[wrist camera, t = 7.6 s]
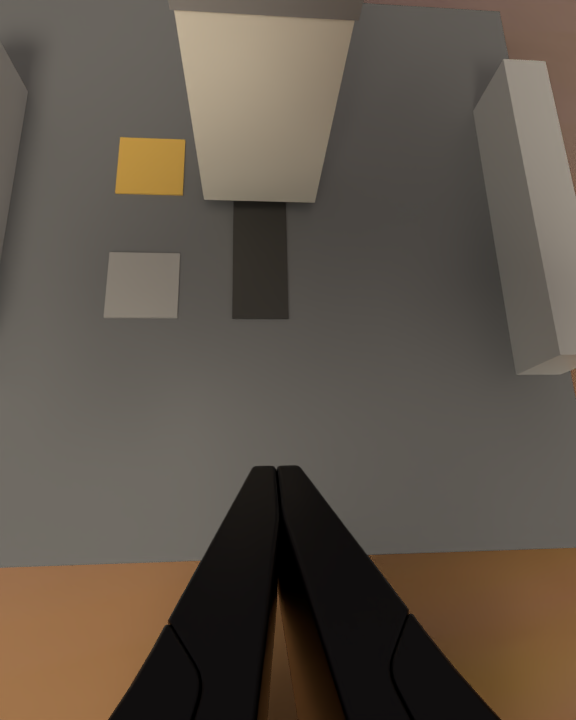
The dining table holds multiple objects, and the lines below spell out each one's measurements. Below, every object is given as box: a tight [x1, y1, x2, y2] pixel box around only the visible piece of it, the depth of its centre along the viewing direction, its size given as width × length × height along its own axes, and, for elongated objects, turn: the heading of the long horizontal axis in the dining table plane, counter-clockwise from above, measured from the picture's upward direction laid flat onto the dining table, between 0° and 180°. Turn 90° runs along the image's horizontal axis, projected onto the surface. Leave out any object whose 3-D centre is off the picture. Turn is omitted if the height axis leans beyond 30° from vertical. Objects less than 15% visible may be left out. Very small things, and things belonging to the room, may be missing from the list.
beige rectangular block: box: [168, 0, 364, 203], centre depth 17 cm, size 3×5×9 cm, turn 91°
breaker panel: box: [0, 0, 576, 568], centre depth 20 cm, size 28×27×4 cm
